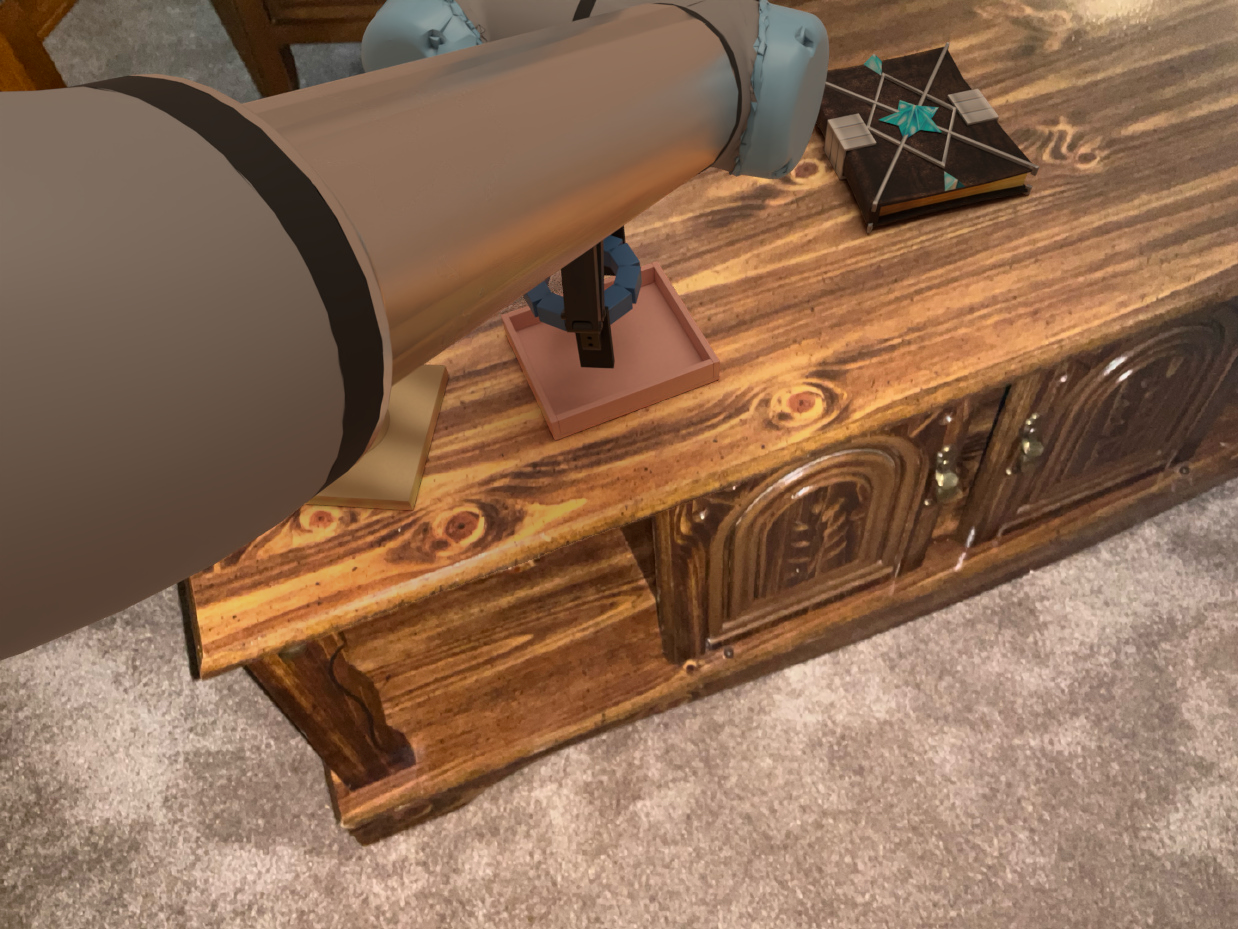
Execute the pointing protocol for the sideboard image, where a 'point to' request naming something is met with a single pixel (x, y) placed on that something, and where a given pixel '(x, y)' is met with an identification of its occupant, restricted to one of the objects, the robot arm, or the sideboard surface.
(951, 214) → the sideboard surface
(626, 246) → the ring
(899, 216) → the book
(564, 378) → the tray
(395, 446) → the tan post with base
